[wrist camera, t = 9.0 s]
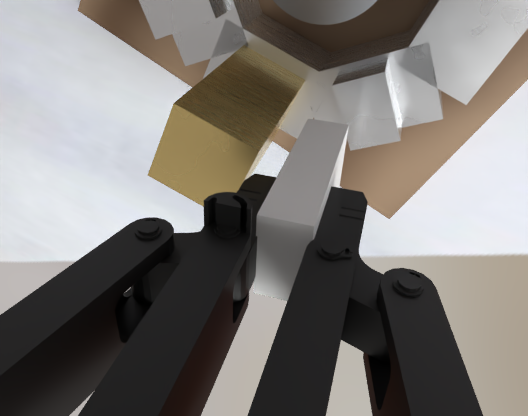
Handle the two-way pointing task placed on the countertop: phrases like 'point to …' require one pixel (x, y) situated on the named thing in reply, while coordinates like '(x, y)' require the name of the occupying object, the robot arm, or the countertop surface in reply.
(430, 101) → the white blocky ring
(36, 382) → the robot arm
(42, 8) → the countertop surface
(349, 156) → the board
